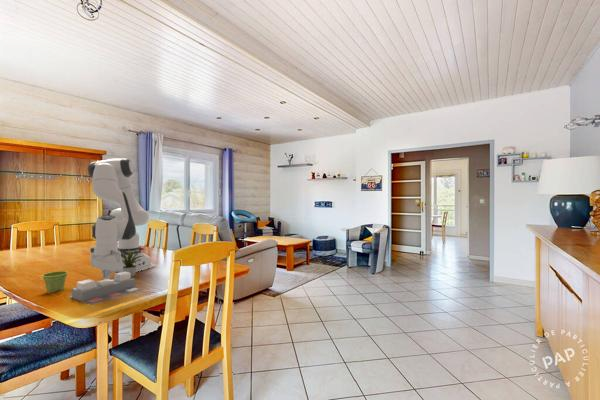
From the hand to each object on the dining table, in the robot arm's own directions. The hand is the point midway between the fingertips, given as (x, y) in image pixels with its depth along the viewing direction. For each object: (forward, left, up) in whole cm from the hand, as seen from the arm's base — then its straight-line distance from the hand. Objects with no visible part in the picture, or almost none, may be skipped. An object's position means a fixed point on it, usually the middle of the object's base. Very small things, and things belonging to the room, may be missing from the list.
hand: (106, 278), depth 133 cm
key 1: (+9, 0, -4) cm, 9 cm away
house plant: (-20, -17, -8) cm, 28 cm away
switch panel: (+1, +2, -7) cm, 8 cm away
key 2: (-7, 0, -4) cm, 9 cm away
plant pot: (+11, -24, -8) cm, 27 cm away
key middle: (+1, 0, -6) cm, 6 cm away
